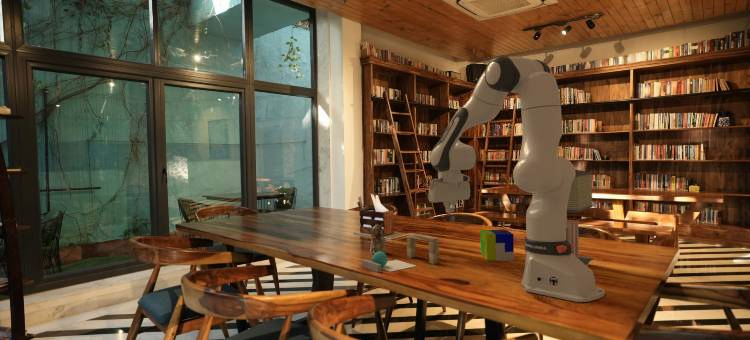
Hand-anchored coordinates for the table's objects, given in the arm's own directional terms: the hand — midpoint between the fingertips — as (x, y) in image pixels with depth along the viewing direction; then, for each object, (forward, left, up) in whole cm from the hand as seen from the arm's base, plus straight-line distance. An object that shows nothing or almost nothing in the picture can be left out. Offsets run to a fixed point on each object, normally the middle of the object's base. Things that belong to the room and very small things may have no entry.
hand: (449, 212), depth 169 cm
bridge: (0, +15, -17) cm, 23 cm away
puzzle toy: (-15, -10, -17) cm, 25 cm away
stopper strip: (+1, +38, -17) cm, 42 cm away
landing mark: (0, +29, -17) cm, 34 cm away
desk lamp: (-39, -17, -17) cm, 46 cm away
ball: (+2, +34, -14) cm, 37 cm away
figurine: (+21, +21, -17) cm, 34 cm away
